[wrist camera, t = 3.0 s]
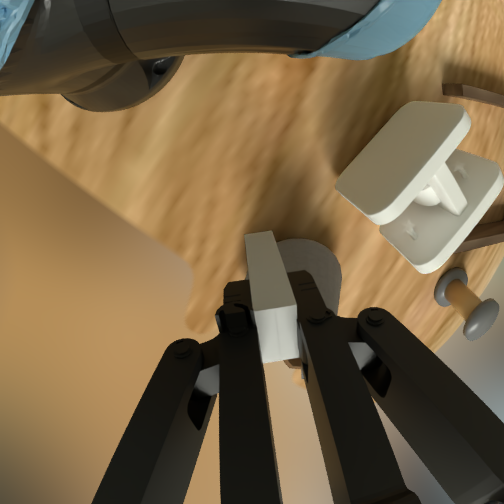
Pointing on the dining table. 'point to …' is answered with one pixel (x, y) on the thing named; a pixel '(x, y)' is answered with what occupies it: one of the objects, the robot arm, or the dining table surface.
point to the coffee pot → (312, 272)
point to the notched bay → (488, 231)
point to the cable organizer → (422, 182)
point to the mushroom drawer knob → (466, 303)
